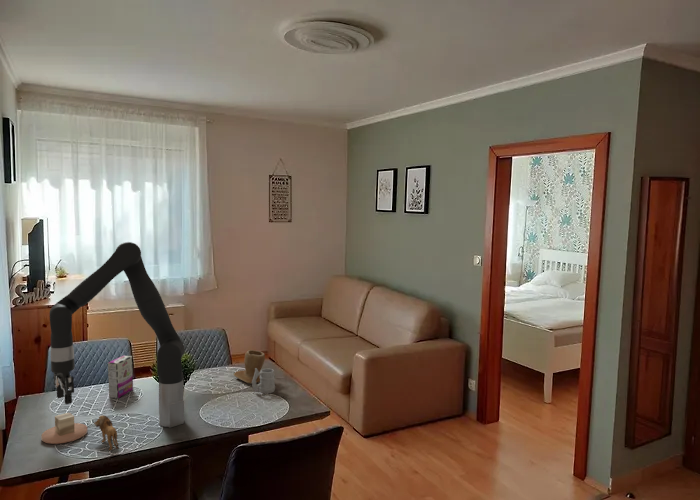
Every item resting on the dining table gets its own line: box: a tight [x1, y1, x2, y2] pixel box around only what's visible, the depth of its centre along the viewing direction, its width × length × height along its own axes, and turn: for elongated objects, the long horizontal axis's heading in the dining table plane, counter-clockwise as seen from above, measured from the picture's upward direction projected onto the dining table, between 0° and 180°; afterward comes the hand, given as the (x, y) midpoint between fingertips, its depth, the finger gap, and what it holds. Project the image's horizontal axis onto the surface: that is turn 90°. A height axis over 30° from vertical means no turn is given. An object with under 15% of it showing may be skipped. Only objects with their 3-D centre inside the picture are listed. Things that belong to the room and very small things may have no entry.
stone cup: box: [233, 349, 266, 384], centre depth 251 cm, size 15×12×15 cm
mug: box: [251, 367, 276, 394], centre depth 236 cm, size 8×12×12 cm, turn 129°
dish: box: [40, 422, 88, 445], centre depth 187 cm, size 15×15×2 cm
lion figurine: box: [93, 415, 120, 451], centre depth 182 cm, size 15×5×9 cm, turn 51°
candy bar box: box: [107, 355, 134, 399], centre depth 229 cm, size 11×5×16 cm, turn 168°
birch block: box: [54, 412, 75, 436], centre depth 187 cm, size 5×5×6 cm
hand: (64, 400), depth 186 cm, fingers open, 8 cm apart
